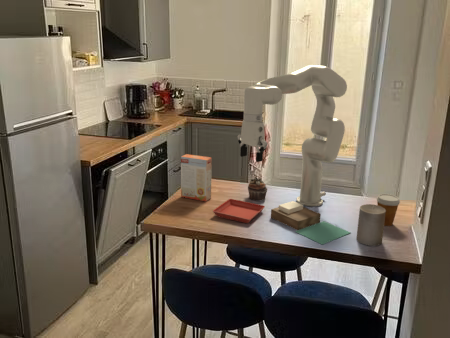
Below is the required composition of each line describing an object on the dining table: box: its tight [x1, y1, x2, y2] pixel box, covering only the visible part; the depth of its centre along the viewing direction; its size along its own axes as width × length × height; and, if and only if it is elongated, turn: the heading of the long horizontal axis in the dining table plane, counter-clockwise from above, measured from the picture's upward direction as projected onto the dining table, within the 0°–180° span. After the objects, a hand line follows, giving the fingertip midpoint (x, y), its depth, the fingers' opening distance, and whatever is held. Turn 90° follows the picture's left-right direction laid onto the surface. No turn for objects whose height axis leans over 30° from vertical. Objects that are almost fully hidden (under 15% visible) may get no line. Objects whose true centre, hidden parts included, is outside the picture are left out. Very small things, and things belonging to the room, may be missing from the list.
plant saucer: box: [212, 198, 265, 224], centre depth 193 cm, size 18×18×3 cm
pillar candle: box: [356, 203, 386, 247], centre depth 169 cm, size 10×10×15 cm
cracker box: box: [180, 153, 213, 202], centre depth 209 cm, size 14×6×21 cm, turn 65°
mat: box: [294, 221, 351, 245], centre depth 177 cm, size 18×14×1 cm
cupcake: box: [247, 177, 268, 201], centre depth 213 cm, size 10×10×10 cm
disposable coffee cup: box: [376, 193, 401, 227], centre depth 187 cm, size 10×10×12 cm
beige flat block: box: [278, 200, 304, 214], centre depth 190 cm, size 9×6×2 cm, turn 128°
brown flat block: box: [270, 206, 321, 231], centre depth 188 cm, size 14×16×4 cm
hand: (251, 158), depth 179 cm, fingers open, 9 cm apart
